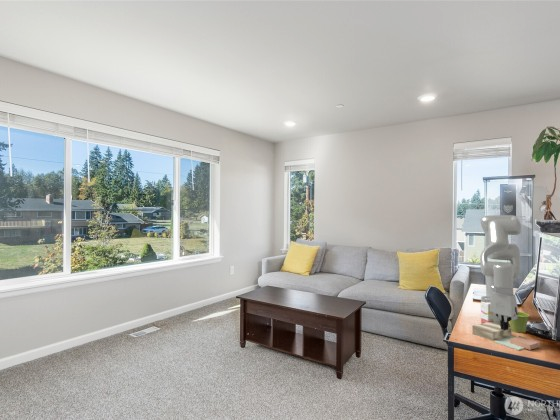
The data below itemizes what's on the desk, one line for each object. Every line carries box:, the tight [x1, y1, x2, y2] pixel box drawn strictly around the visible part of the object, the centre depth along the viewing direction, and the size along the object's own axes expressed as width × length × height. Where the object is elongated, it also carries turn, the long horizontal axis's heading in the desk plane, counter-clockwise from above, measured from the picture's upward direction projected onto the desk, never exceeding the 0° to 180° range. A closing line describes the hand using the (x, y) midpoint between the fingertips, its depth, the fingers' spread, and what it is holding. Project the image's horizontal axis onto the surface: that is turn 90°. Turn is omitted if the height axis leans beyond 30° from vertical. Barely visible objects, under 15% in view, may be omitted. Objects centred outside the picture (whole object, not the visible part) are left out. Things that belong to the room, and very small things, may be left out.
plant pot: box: [509, 311, 530, 333], centre depth 157 cm, size 9×9×9 cm
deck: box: [471, 322, 513, 342], centre depth 152 cm, size 14×10×4 cm
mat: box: [492, 335, 526, 351], centre depth 142 cm, size 16×10×1 cm, turn 114°
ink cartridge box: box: [480, 295, 500, 325], centre depth 167 cm, size 9×5×15 cm, turn 102°
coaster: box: [510, 335, 541, 351], centre depth 139 cm, size 8×8×2 cm
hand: (504, 329), depth 146 cm, fingers closed
